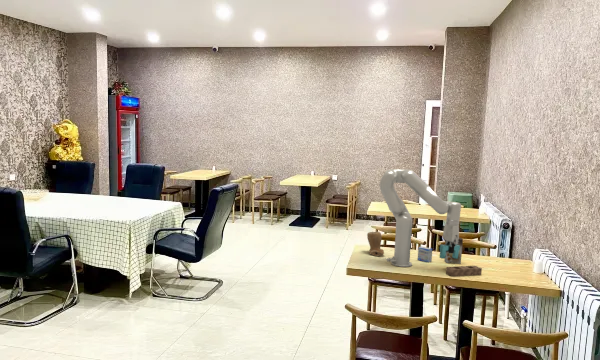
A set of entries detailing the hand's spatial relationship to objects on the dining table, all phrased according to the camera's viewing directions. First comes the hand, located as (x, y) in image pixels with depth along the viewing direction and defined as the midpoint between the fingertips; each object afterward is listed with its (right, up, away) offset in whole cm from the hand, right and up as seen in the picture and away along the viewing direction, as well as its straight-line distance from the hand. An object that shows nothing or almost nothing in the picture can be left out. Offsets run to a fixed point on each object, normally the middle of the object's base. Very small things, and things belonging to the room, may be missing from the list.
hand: (449, 251), depth 282 cm
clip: (0, -4, 0) cm, 4 cm away
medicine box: (-10, -9, +18) cm, 23 cm away
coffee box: (+8, -10, +18) cm, 22 cm away
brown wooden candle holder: (+5, -12, -9) cm, 16 cm away
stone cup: (-40, -6, +31) cm, 51 cm away
